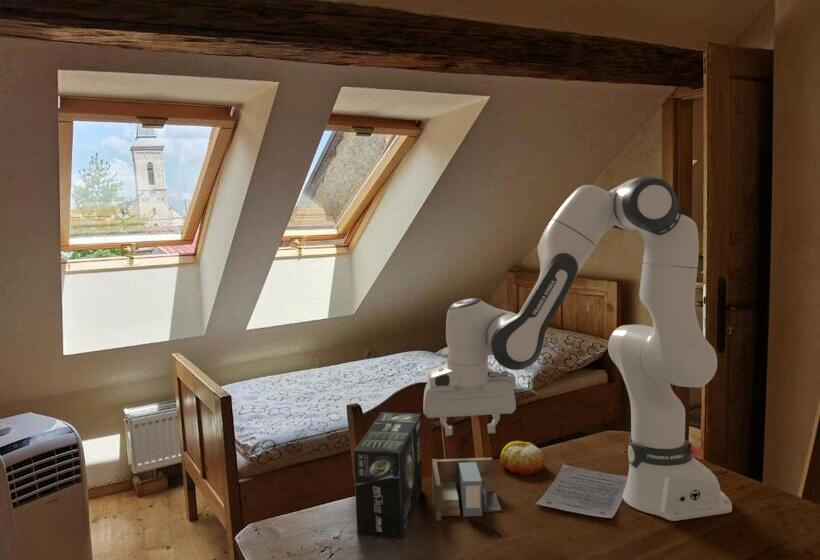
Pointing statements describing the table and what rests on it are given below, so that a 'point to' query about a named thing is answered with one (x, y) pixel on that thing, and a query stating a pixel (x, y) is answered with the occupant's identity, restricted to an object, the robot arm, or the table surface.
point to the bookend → (489, 501)
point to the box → (388, 475)
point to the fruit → (522, 458)
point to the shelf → (455, 483)
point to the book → (470, 489)
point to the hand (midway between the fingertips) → (470, 433)
